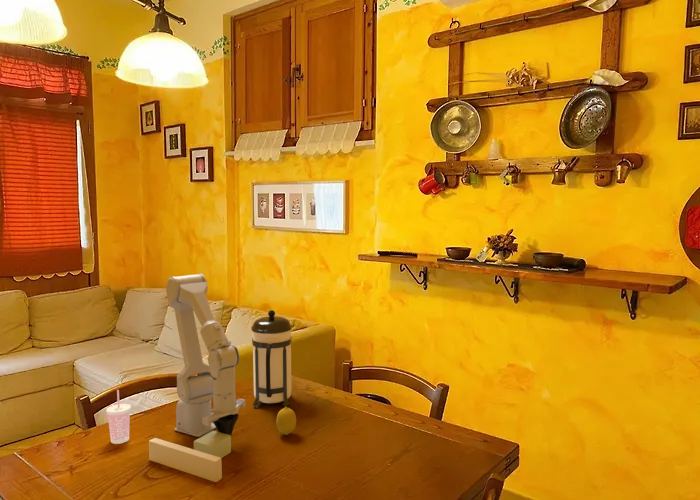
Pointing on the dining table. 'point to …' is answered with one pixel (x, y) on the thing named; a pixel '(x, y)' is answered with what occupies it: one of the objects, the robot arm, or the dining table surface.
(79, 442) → the dining table surface
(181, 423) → the robot arm
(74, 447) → the dining table surface
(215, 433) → the block
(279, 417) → the lemon
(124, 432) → the beverage cup
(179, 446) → the board
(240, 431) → the dining table surface
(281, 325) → the coffee press
